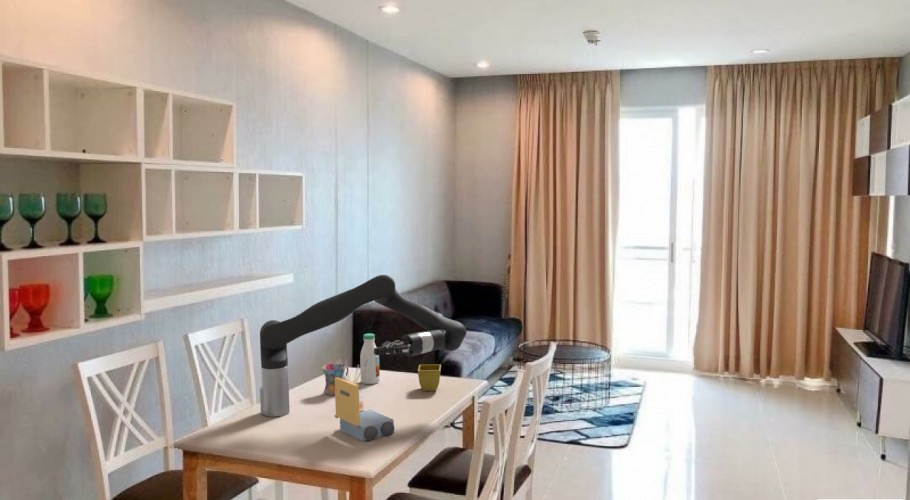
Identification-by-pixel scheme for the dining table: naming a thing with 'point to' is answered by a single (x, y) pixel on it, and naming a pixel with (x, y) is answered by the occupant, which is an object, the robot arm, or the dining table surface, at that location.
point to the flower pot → (429, 377)
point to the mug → (333, 376)
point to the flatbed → (369, 426)
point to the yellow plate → (347, 401)
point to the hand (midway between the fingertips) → (375, 351)
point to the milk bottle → (369, 361)
